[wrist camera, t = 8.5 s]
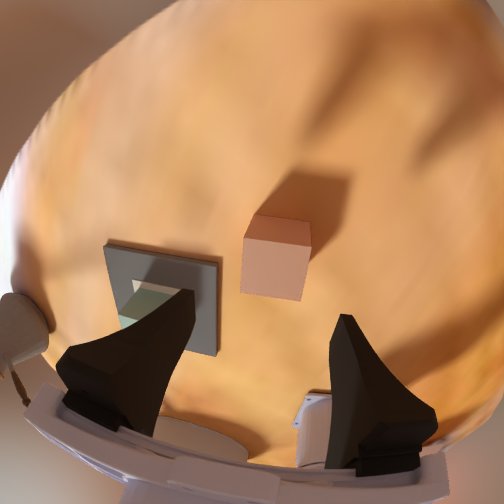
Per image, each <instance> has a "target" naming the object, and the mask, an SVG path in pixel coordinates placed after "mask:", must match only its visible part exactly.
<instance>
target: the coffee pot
mask: <svg viewBox="0 0 504 504" xmlns="http://www.w3.org/2000/svg"><path fill="white" fill-rule="evenodd" d="M48 345H49V334H48V325H47V322H46V320H45V318H44V316H43V315H42V313H41V312H40V310H39V309H38V307H37V306H36V305H35V304H34V303H33V302H32V301H31V300H30V299H29V298H28V297H26V296H24V295H19V294H17V293H6V294H4V295H3V296H2V298H1V300H0V379H1V380H3V379H4V377H3V374H4V372H5V370H6V368H8V367H9V369H10V372H11V375H12V378H13V381H14V384H15V387H16V390H17V392H18V394H19V395H20V397H21V398H22V399H23V401H22V402H23V405H25V406H26V407H28V406H29V404H30V403H31V400H30V399H29V398H28V397H27V394H26V391H25V388H24V386H23V385H22V383H21V381H20V379H19V377H18V375H17V374H16V372H15V370H14V367H13V365H14V364H17V363H19V362H22V361H24V360H27V359H29V358H31V357H34V356H36V355H38V354H41V353H43V352H45V351H46V350H47V348H48Z"/></svg>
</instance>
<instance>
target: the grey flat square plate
mask: <svg viewBox="0 0 504 504" xmlns="http://www.w3.org/2000/svg"><path fill="white" fill-rule="evenodd" d="M103 249H104V255H105V260H106V265H107V269H108V274H109V278H110V283H111V287H112V291H113V295H114V299H115V303H116V307H117V310H118V313H119V312H120V311H121V310H122V308H123V307H124V306H125V304H126V303H127V302H128V301H129V299H130V298H131V297H132V296H133V294H134V293H135V292H136V291H137V289H138V288H143V289H148V290H152V291H156V292H161V293H165V294H170V295H175V294H176V293H177V292H179V291H180V290H181V289H183V288H184V289H189V290H194V293H195V312H196V322H195V325H194V328H193V331H192V334H191V337H190V339H189V341H188V343H187V345H186V347H185V349H184V350H188V351H192V352H196V353H200V354H205V355H209V356H214V357H216V355H217V306H218V263H214V262H208V261H202V260H196V259H190V258H184V257H178V256H172V255H167V254H161V253H155V252H149V251H144V250H138V249H132V248H127V247H121V246H116V245H110V244H106V245H105V246H103Z"/></svg>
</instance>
